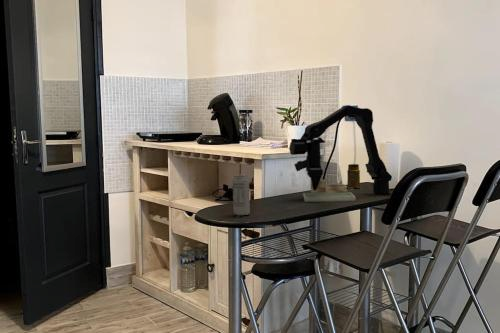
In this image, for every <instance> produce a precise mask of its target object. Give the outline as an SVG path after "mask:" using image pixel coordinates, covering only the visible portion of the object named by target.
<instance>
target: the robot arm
mask: <svg viewBox="0 0 500 333" xmlns="http://www.w3.org/2000/svg"><path fill="white" fill-rule="evenodd" d="M346 117H350V118H354V120H355V123H356V125H357V126H358V128H360V130H361V133H362V134H361V135H362V139H363V142H364V146H365V149H366V153H367V157H368V162H367V163H366V164H364V165H365V166H364V167H366V173H368V175H369V176H370V177H371V180H373V182H372V193H373V194H374V195H375V196H377V195H378V196H379V195H391V193H390V182H391V181H392V179H393V178H392V177H393V176H392V175H391V173H389V171H388V169H387V167H386V165H385V162H383V159H381V158H380V154H379V150H378V146H377V142H376V137H375V134H374V131H373V130H374V129H373V124H374V115H373V111H372V109H370V108H368V107H367V108H366V107H365V108H360V107H357V106H352V105H349V104H348V105H347V104H346V105H342V106H341V107H340V108H339V109H336V110H335V111H334V112H332V113H330V114H329V115H328V116H326V117H325V118H323V119H321V120H319V121H316V122H313V123H310V124H308V125H306V127H304V132H303V134H302V135H301V137H300V138H291V140H290V141H291V142H289V146H288V148H289V149H288V150H289V154H290V155H291V156H294V155H298V156H299V155H305V154H306V157H305V158H306V159H303V160H299V161H298V160H297V162H296V163H294V168H295V170H296V172H300V171H301V170H303V169H305V171H306V174H307V176H308V177H309V178H310V181H311V180H312V185H313V190H316V189H317V187H318V184H319V181H320V180H322V176H323V175H324V170H323V169H322V164H321V163H322V162H321V159H322V156H321V144H325V143H326V141H325V140H324V139H323V138H322V137H321V136H322V135H323V134H324V133H325V132H326V131H327V129H329V128H330V127H331V126H333V125H334V124H336V123H338V122H340V121H341V120H342V119H344V118H346Z"/></svg>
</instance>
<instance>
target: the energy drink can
mask: <svg viewBox="0 0 500 333" xmlns="http://www.w3.org/2000/svg"><path fill="white" fill-rule="evenodd" d="M232 199H233V200H232V201H233V202H232V204H233V214H234V215H235V214H236V215H248V214H250V213H251V207H250V206H251V205H250V204H251V202H250V180H249V177H248V174H244V173H243V174H234V175H233V178H232ZM248 216H249V215H248Z"/></svg>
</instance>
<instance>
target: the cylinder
mask: <svg viewBox="0 0 500 333" xmlns="http://www.w3.org/2000/svg"><path fill="white" fill-rule="evenodd" d="M335 184H343V181H342V180H336V181H335ZM335 184H334V185H335Z"/></svg>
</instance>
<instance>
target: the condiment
mask: <svg viewBox="0 0 500 333" xmlns="http://www.w3.org/2000/svg"><path fill="white" fill-rule="evenodd" d="M347 166H348V167H347V172H346V173H347V174H346V175H347V187H353V188H357V187H361V179H360V178H361V175H360V174H361V170H360V164H358V163H353V164H352V163H350V164H348V165H347Z"/></svg>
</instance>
